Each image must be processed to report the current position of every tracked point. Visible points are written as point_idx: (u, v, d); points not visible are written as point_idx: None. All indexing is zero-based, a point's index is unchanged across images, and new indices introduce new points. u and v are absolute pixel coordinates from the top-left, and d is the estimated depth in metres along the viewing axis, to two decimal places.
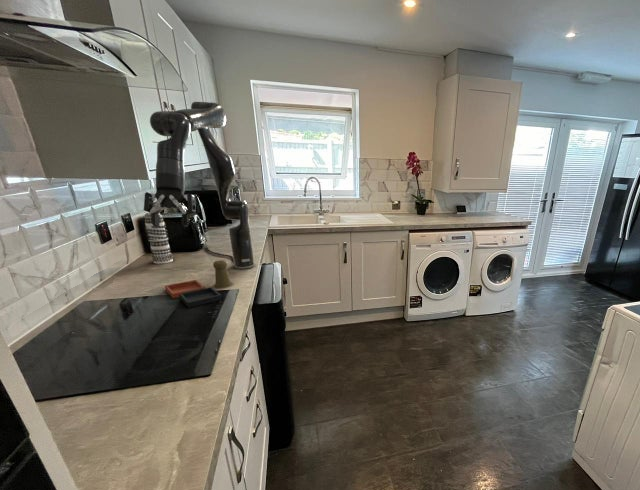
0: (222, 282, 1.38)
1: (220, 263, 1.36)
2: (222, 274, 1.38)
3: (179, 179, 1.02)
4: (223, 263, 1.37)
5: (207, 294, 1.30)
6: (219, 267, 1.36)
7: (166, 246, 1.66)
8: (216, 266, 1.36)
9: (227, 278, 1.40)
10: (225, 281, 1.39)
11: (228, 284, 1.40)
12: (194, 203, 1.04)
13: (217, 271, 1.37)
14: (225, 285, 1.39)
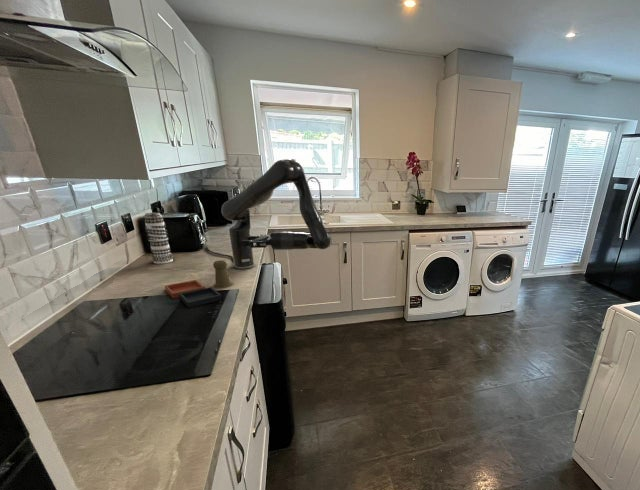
0: (222, 282, 1.38)
1: (220, 263, 1.36)
2: (222, 274, 1.38)
3: None
4: (223, 263, 1.37)
5: (207, 294, 1.30)
6: (219, 267, 1.36)
7: (166, 246, 1.66)
8: (216, 266, 1.36)
9: (227, 278, 1.40)
10: (225, 281, 1.39)
11: (228, 284, 1.40)
12: None
13: (217, 271, 1.37)
14: (225, 285, 1.39)
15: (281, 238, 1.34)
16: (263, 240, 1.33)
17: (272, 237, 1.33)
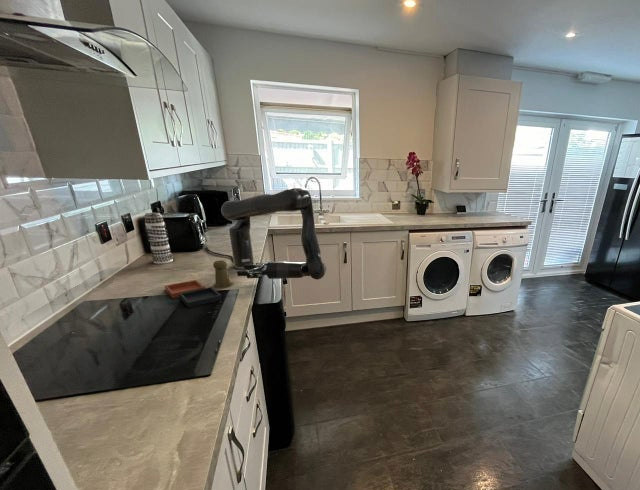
0: (222, 282, 1.38)
1: (220, 263, 1.36)
2: (222, 274, 1.38)
3: None
4: (223, 263, 1.37)
5: (207, 294, 1.30)
6: (219, 267, 1.36)
7: (166, 246, 1.66)
8: (216, 266, 1.36)
9: (227, 278, 1.40)
10: (225, 281, 1.39)
11: (228, 284, 1.40)
12: None
13: (217, 271, 1.37)
14: (225, 285, 1.39)
15: (276, 268, 1.38)
16: (259, 270, 1.37)
17: (268, 267, 1.38)
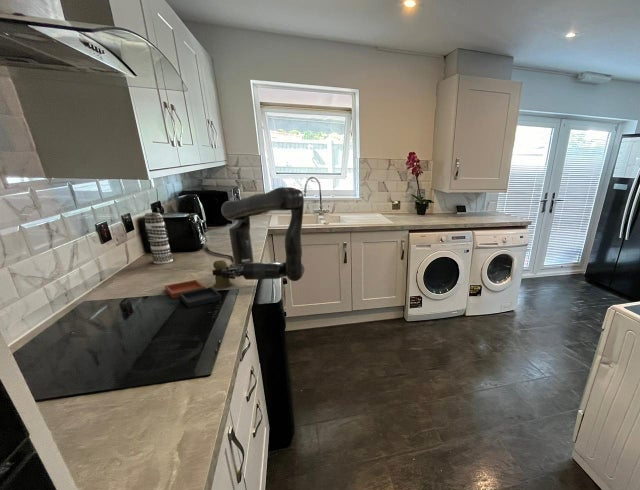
0: (222, 282, 1.38)
1: (220, 263, 1.36)
2: None
3: None
4: (223, 263, 1.37)
5: (207, 294, 1.30)
6: (219, 267, 1.36)
7: (166, 246, 1.66)
8: (216, 266, 1.36)
9: (227, 278, 1.40)
10: (225, 281, 1.39)
11: (228, 284, 1.40)
12: None
13: None
14: (225, 285, 1.39)
15: (253, 269, 1.37)
16: (235, 271, 1.36)
17: (244, 268, 1.37)
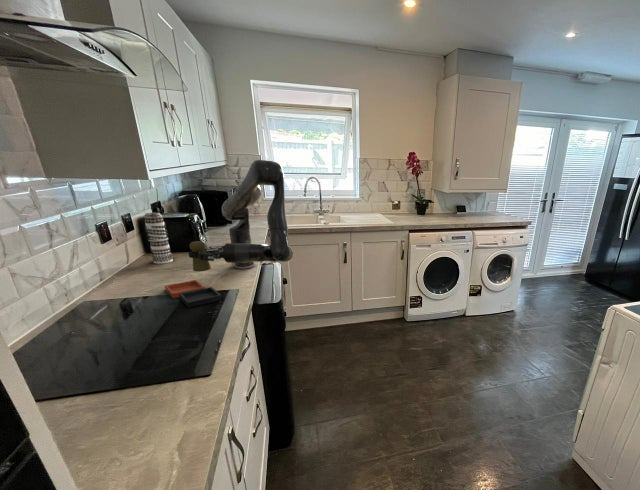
0: (200, 265, 1.23)
1: (197, 244, 1.21)
2: None
3: None
4: (201, 244, 1.22)
5: (207, 294, 1.30)
6: (196, 248, 1.21)
7: (166, 246, 1.66)
8: (193, 247, 1.21)
9: (206, 261, 1.25)
10: (204, 264, 1.24)
11: (207, 268, 1.25)
12: None
13: None
14: (204, 269, 1.24)
15: (234, 250, 1.22)
16: (215, 253, 1.21)
17: (225, 249, 1.22)
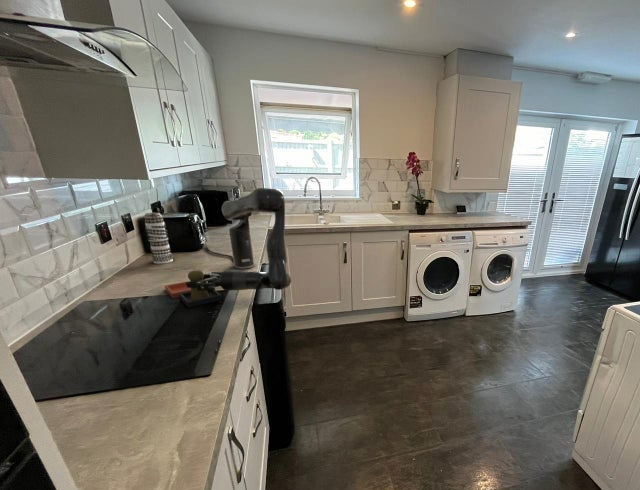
0: (198, 295, 1.23)
1: (196, 274, 1.21)
2: None
3: None
4: (199, 274, 1.22)
5: None
6: (194, 278, 1.21)
7: (166, 246, 1.66)
8: (191, 277, 1.21)
9: (204, 290, 1.25)
10: (202, 294, 1.24)
11: (205, 297, 1.25)
12: None
13: None
14: (202, 298, 1.24)
15: (232, 278, 1.22)
16: (212, 281, 1.21)
17: (222, 278, 1.22)
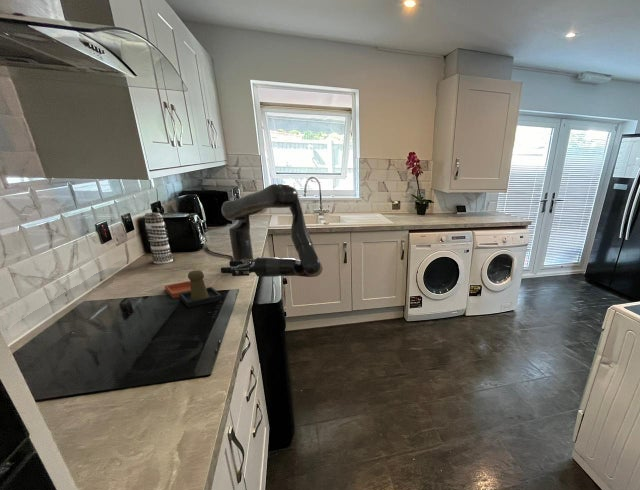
0: (198, 295, 1.23)
1: (196, 274, 1.21)
2: (198, 286, 1.23)
3: None
4: (199, 274, 1.22)
5: None
6: (194, 278, 1.21)
7: (166, 246, 1.66)
8: (191, 277, 1.21)
9: (204, 290, 1.25)
10: (202, 294, 1.24)
11: (205, 297, 1.25)
12: None
13: (192, 283, 1.22)
14: (202, 298, 1.24)
15: (266, 264, 1.22)
16: (246, 267, 1.21)
17: (256, 264, 1.22)
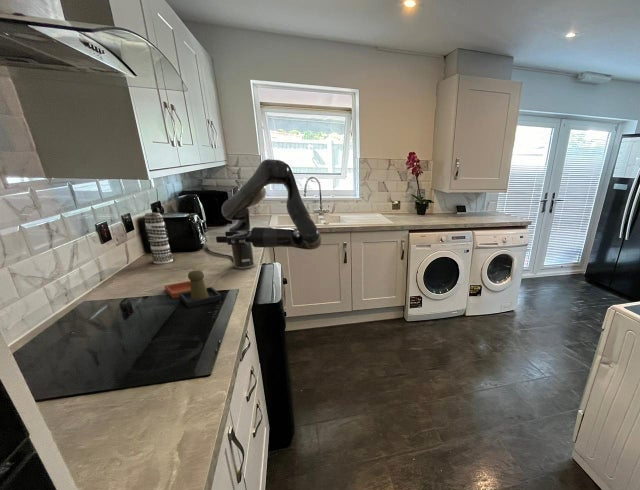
0: (198, 295, 1.23)
1: (196, 274, 1.21)
2: (198, 286, 1.23)
3: None
4: (199, 274, 1.22)
5: None
6: (194, 278, 1.21)
7: (166, 246, 1.66)
8: (191, 277, 1.21)
9: (204, 290, 1.25)
10: (202, 294, 1.24)
11: (205, 297, 1.25)
12: None
13: (192, 283, 1.22)
14: (202, 298, 1.24)
15: (263, 234, 1.18)
16: (242, 236, 1.17)
17: (253, 233, 1.17)
